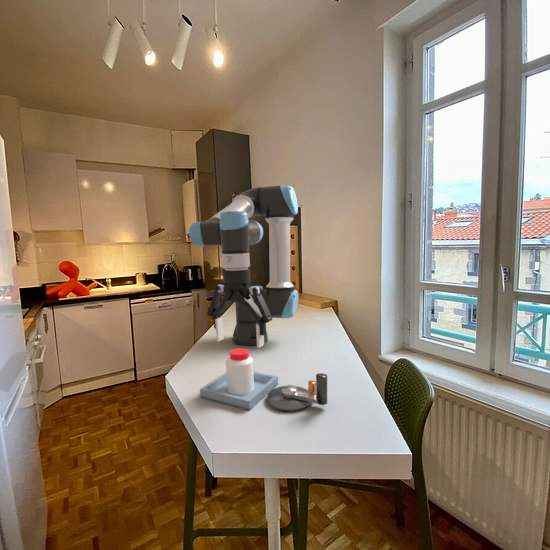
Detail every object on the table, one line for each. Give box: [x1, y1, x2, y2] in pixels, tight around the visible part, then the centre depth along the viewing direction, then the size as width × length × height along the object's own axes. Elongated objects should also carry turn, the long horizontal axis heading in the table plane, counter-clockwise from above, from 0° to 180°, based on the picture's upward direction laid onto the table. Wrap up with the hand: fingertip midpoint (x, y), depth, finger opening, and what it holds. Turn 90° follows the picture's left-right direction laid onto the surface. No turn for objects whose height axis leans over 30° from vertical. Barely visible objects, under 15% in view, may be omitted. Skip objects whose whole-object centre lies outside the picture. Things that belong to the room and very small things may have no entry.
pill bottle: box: [225, 347, 255, 395], centre depth 90 cm, size 8×8×11 cm
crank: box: [281, 372, 328, 406], centre depth 82 cm, size 12×4×7 cm, turn 63°
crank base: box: [266, 380, 316, 413], centre depth 84 cm, size 13×12×5 cm
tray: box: [199, 371, 279, 412], centre depth 90 cm, size 16×16×2 cm
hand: (239, 342), depth 89 cm, fingers open, 13 cm apart
